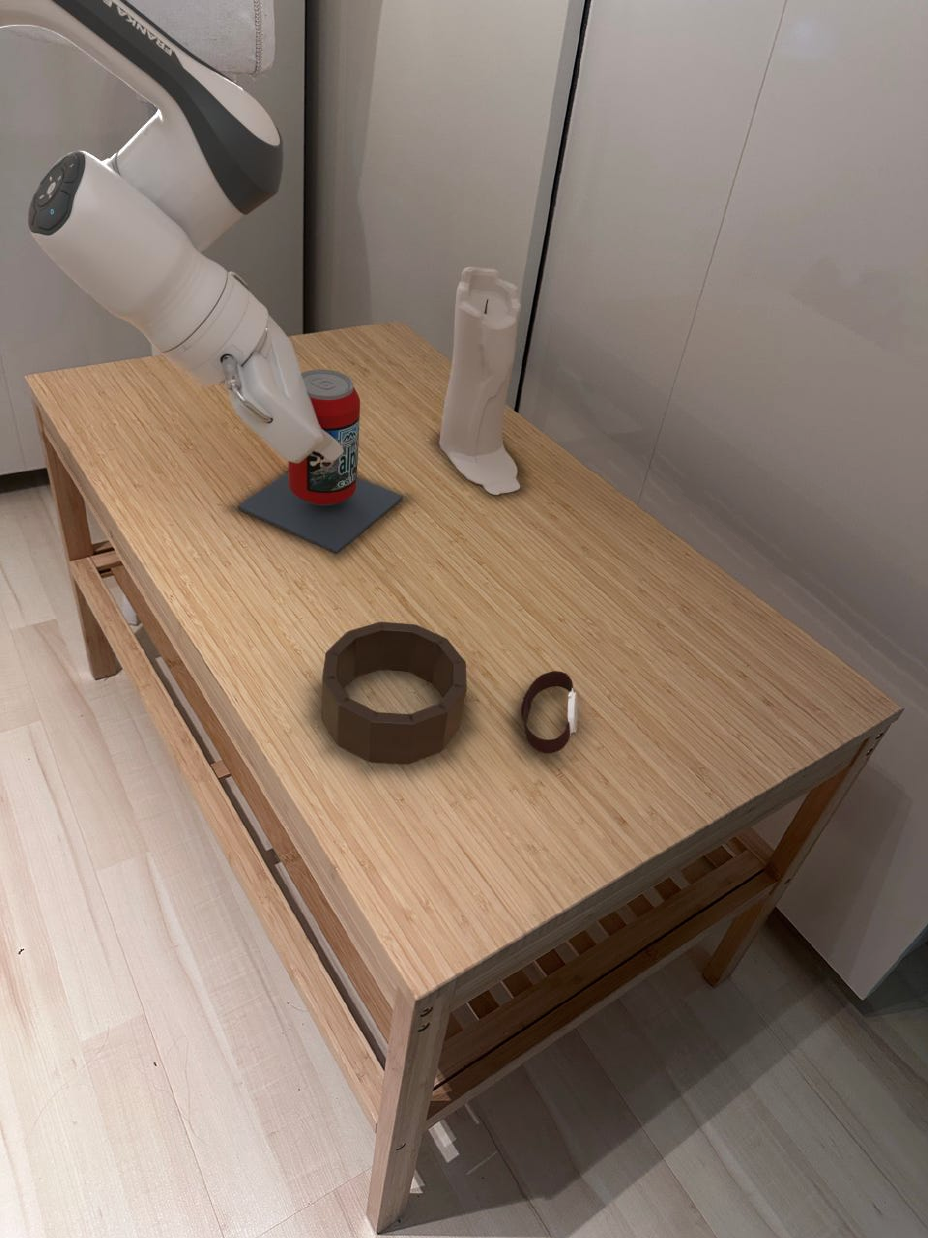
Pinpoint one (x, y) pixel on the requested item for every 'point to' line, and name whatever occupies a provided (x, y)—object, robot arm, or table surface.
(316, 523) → the mat
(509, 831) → the table surface
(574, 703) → the watch
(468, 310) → the candle
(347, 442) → the beverage can
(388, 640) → the faceted ring
